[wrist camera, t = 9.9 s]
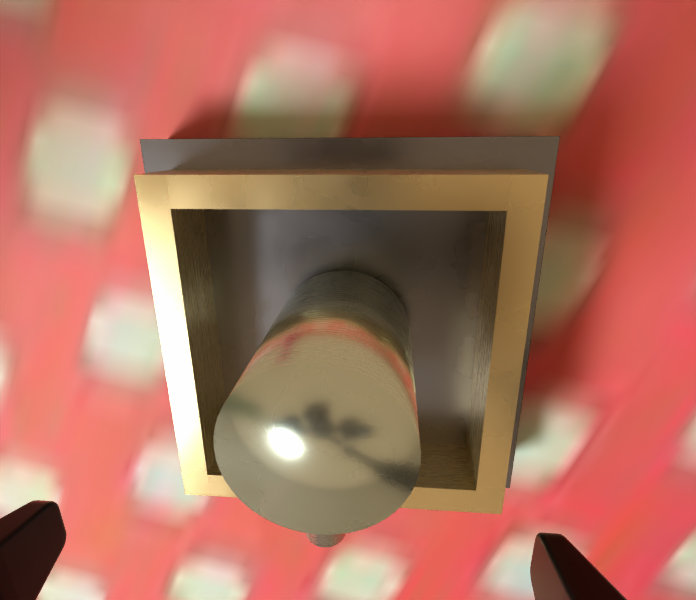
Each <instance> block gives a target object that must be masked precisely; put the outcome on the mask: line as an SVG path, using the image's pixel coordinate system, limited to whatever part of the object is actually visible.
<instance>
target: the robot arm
mask: <svg viewBox="0 0 696 600" xmlns="http://www.w3.org/2000/svg"><path fill="white" fill-rule="evenodd" d="M65 541H66V530H65V527H64V523H63V520H62V516H61V513H60V509H59V506H58V505H57V504H56V503H55V502H53V501H40V500H36V501H32V502H30V503H28V504H26V505H24V506H22V507H20V508H19V509H17V510H15V511H13V512H11V513H10V514H8V515H6V516H4V517H2V518H1V519H0V600H36V598H37V596H38V594H39V593H40V591H41V589H42V587H43V585H44V583H45V581H46V579H47V577H48V576H49V574H50V572H51V570H52V568H53V566H54V564H55V562H56V560H57V559H58V557H59V555H60V553H61V551H62V549H63V547H64V544H65ZM530 573H531V582H532V587H533V591H534V596H535V600H627V599H626V598H625V597H624V596H623V595H622V594H621V593H620V592H619V591H618V590H617V589H616V588H615V587H614V586H613V585H612V584H611V583H610V582H609V581H608V580H607V579H606V578H605V577H604V576H603V575H602V574H601V573H600V572H599V571H598V570H597V569H596V568H595V567H594V566H593V565H592V564H591V563H590V562H589V561H588V560H587V559H586V558H585V557H584V556H583V555H582V554H581V553H580V552H579V551H578V550H577V549H576V548H575V547H574V546H573V545H572V544H571V543H570V542H569V541H568V540H567V538H565V537H564V536H563V535H561V534H555V533H539V534H537V536H536V539H535V544H534V549H533V555H532V561H531V567H530Z"/></svg>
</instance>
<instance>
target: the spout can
mask: <svg viewBox="0 0 696 600" xmlns="http://www.w3.org/2000/svg"><path fill="white" fill-rule="evenodd" d="M213 439H214V452H215V457H216V461H217V464H218V467H219V470H220V472H221V474H222V476H223V478H224V480H225V481H226V483H227V484H228V486H229V487H230V489H231V490H232V491H233V492H234V494H235V495H236V496H237V497H238V498H239V499H240V500H241V501H242V502H243V503H244V504H245V505H246V506H248V507H249V508H250V509H251V510H253V511H254V512H256V513H257V514H258V515H260V516H262V517H264V518H265V519H267V520H269V521H271V522H273V523H275V524H278V525H280V526H283V527H286V528H289V529H292V530H295V531H300V532H304V533H306V534H307V537H308V539H309V540H310V542H311V543H313V544H314V545H316V546H319V547H331V546H334V545H336V544H338V543H339V542H341V541H342V540H343V538H344V536H345V534H346V533H350V532H355V531H358V530H362V529H365V528H368V527H370V526H373V525H375V524H377V523H379V522H381V521H382V520H384V519H386V518H387V517H389V516H390V515H391V514H393V513H394V512H395V511H396V510H397V509H398V508H399V507H400V506H401V505H402V504H403V503H404V502H405V501H406V499H407V498H408V497H409V495H410V494H411V492H412V490H413V488H414V486H415V484H416V482H417V479H418V476H419V471H420V465H421V448H420V437H419V426H418V415H417V404H416V393H415V382H414V371H413V360H412V349H411V338H410V328H409V321H408V317H407V314H406V311H405V309H404V307H403V305H402V303H401V302H400V300H399V299H398V297H397V296H396V295H395V294H394V293H393V292H392V291H391V290H390V289H389V288H388V287H387V286H386V285H384V284H383V283H381V282H380V281H378V280H377V279H375V278H373V277H371V276H368V275H365V274H362V273H358V272H354V271H331V272H326V273H322V274H319V275H316V276H314V277H312V278H310V279H308V280H307V281H305V282H304V283H302V284H301V285H300V286H299V287H297V288H296V290H295V291H294V292H293V293H292V294H291V295H290V297H289V298H288V300H287V301H286V303H285V305H284V306H283V308H282V310H281V311H280V313H279V315H278V316H277V318H276V320H275V321H274V323H273V324H272V326H271V328H270V329H269V331H268V333H267V334H266V336H265V338H264V339H263V341H262V342H261V344H260V346H259V347H258V349H257V351H256V352H255V354H254V356H253V357H252V359H251V360H250V362H249V364H248V365H247V367H246V369H245V370H244V372H243V374H242V375H241V377H240V379H239V380H238V382H237V383H236V385H235V387H234V388H233V390H232V392H231V393H230V395H229V397H228V398H227V400H226V401H225V403H224V405H223V406H222V408H221V411H220V413H219V415H218V417H217V421H216V424H215V429H214V438H213Z"/></svg>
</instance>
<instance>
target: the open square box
mask: <svg viewBox="0 0 696 600" xmlns="http://www.w3.org/2000/svg"><path fill="white" fill-rule="evenodd" d="M559 139H560V136H522V137H390V138H259V139H140V144H141V150H142V157H143V163H144V170H145V173H143V174H136V175H134V180H135V186H136V193H137V199H138V205H139V211H140V217H141V224H142V230H143V236H144V242H145V248H146V254H147V261H148V267H149V273H150V279H151V285H152V292H153V298H154V304H155V310H156V316H157V322H158V329H159V335H160V341H161V347H162V353H163V360H164V366H165V372H166V378H167V384H168V390H169V397H170V403H171V409H172V415H173V421H174V428H175V434H176V440H177V446H178V452H179V458H180V465H181V471H182V477H183V483H184V489H185V494H190V495H206V496H221V497H237V496H236V495H235V494H234V492H233V491H232V490H231V489H230V487H229V486H228V484H227V483H226V481H225V480H224V478H223V476H222V474H221V472H220V470H219V467H218V464H217V461H216V457H215V452H214V439H213V438H214V429H215V424H216V421H217V417H218V415H219V413H220V411H221V408H222V406H223V405H224V403H225V401H226V400H227V398H228V397H229V395H230V393H231V392H232V390H233V388H234V387H235V385H236V383H237V382H238V380H239V379H240V377H241V375H242V374H243V372H244V370H245V369H246V367H247V365H248V364H249V362H250V360H251V359H252V357H253V356H254V354H255V352H256V351H257V349H258V347H259V346H260V344H261V342H262V341H263V339H264V338H265V336H266V334H267V333H268V331H269V329H270V328H271V326H272V324H273V323H274V321H275V320H276V318H277V316H278V315H279V313H280V311H281V310H282V308H283V306H284V305H285V303H286V301H287V300H288V298H289V297H290V295H291V294H292V293H293V292H294V291H295V290H296V288H297V287H299V286H300V285H301V284H302V283H304V282H305V281H307V280H308V279H310V278H312V277H314V276H316V275H319V274H322V273H326V272H331V271H354V272H358V273H362V274H365V275H368V276H371V277H373V278H375V279H377V280H378V281H380V282H381V283H383V284H384V285H386V286H387V287H388V288H389V289H390V290H391V291H392V292H393V293H394V294H395V295H396V296H397V297H398V299H399V300H400V302H401V303H402V305H403V307H404V309H405V311H406V314H407V317H408V321H409V328H410V338H411V349H412V360H413V371H414V382H415V393H416V404H417V415H418V426H419V437H420V448H421V465H420V471H419V476H418V479H417V482H416V484H415V486H414V488H413V490H412V492H411V494H410V495H409V497H408V498H407V499H406V501H405V502H404V503H403V504H402V505H401V506H400V507H399V508H412V509H428V510H444V511H460V512H475V513H491V514H502V508H503V501H504V494H505V488H510V483H511V476H512V469H513V462H514V455H515V448H516V441H517V434H518V427H519V420H520V412H521V405H522V398H523V391H524V384H525V377H526V370H527V363H528V356H529V349H530V342H531V335H532V328H533V321H534V314H535V307H536V300H537V293H538V286H539V279H540V272H541V265H542V258H543V251H544V244H545V237H546V230H547V223H548V216H549V209H550V202H551V195H552V188H553V181H554V174H555V167H556V160H557V153H558V146H559ZM237 498H238V497H237Z"/></svg>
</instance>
